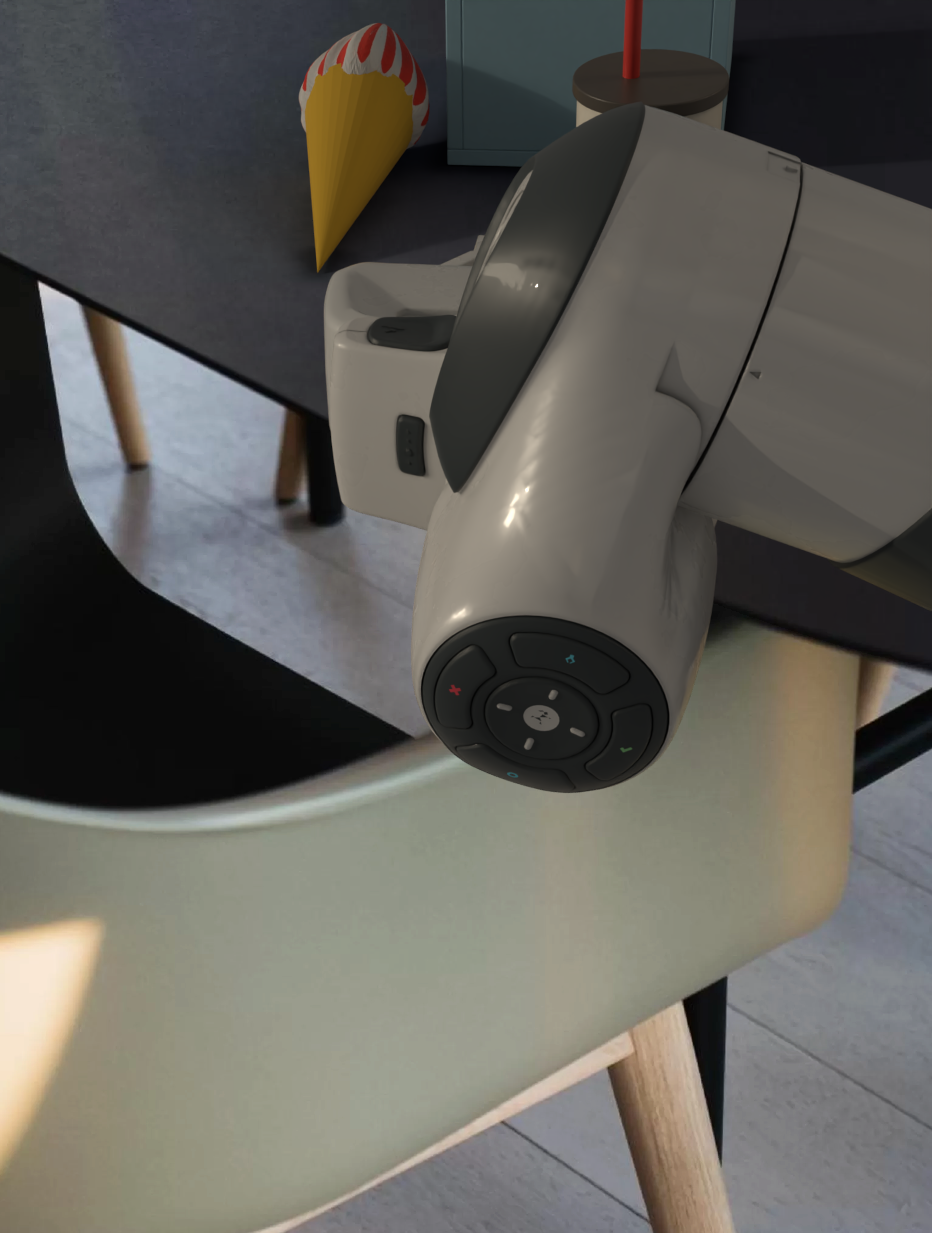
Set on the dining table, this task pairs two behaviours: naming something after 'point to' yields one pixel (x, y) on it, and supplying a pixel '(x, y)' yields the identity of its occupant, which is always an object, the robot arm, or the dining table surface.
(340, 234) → the ice cream cone
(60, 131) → the dining table surface
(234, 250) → the dining table surface
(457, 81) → the bin
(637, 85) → the paper cup
